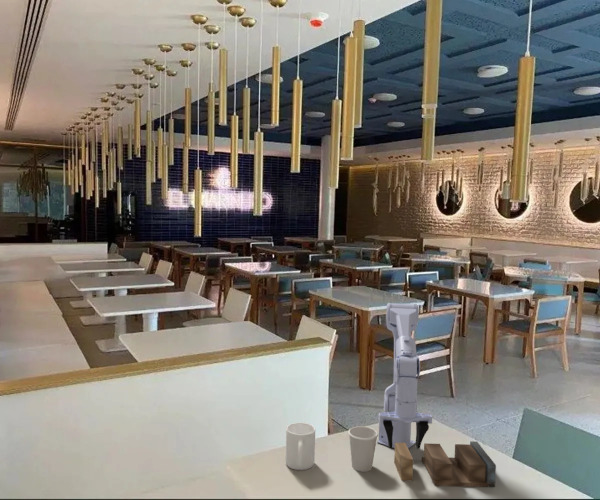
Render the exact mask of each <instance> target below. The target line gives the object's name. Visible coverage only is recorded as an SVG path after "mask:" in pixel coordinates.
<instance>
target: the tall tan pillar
mask: <svg viewBox="0 0 600 500" xmlns="http://www.w3.org/2000/svg"><path fill="white" fill-rule="evenodd" d="M409 449H410V448H408V447H407V445H406V443H395V448H394V458H393V462H394V465H395V468H396V470H397V473H398V477H399V478H400V481H407V482H409V481H410V482H411V481H413V476H414V475H413V472H414V458H413V456H412V454H411V452H410V450H409Z"/></svg>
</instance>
